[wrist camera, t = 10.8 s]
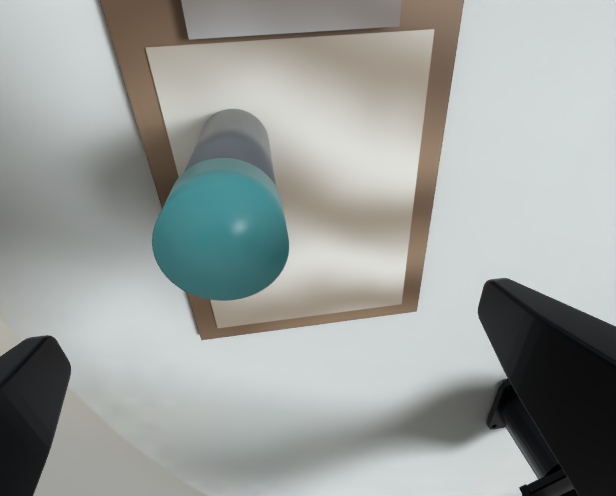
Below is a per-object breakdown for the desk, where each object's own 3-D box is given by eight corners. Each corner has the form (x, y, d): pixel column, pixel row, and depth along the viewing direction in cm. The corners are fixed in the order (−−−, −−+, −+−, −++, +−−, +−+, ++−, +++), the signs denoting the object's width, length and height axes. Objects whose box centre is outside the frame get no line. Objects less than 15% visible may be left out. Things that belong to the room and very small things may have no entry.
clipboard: (413, 305, 24) (422, 321, 23) (202, 333, 23) (199, 352, 22) (461, -32, 15) (482, -36, 13) (101, -14, 13) (85, -18, 12)
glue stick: (274, 174, 17) (293, 292, 10) (206, 180, 17) (171, 307, 9) (267, 103, 15) (283, 180, 8) (191, 109, 15) (134, 194, 8)
